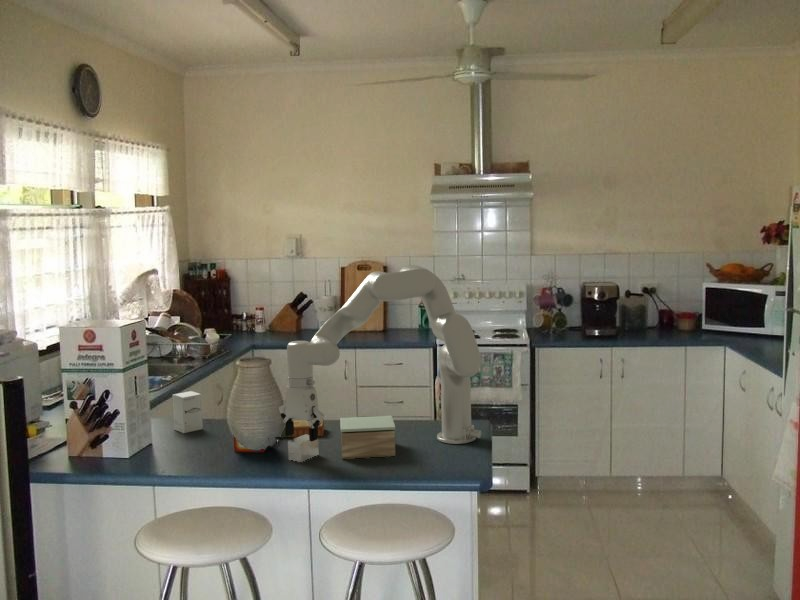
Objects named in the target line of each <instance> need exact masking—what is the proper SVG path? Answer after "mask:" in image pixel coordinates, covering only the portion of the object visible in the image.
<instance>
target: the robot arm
mask: <svg viewBox="0 0 800 600" xmlns="http://www.w3.org/2000/svg"><path fill="white" fill-rule="evenodd" d="M413 298H414V299H415V298H420V300H421V301H422V304H423V306H424V309H425V312H426V314H427V318H428V320H429V324H430V327H431V332H432V334H433V335H434V336H435V338H437V339H439V340H440V341H443V342H444V344H443V345H442V347H441V348H440V350H439V351H438V359H437V360H438V362H437V363H438V367H439V373H440V375H439V376H440V398H441V399H440V402H441V404H440V405H441V409H440V410H441V413H440V414H441V431H440V432H439V433H437V434H436V439H437V440H438V441H439V442H442V443H445V444H451V445H462V444H468V443H471V442H474V441H475V440H476V439H481V438H482V437H481V436H482V431H481V430H479V429H475V425H474V424H472V398H471V396H472V395H471V394H472V393H471V392H472V387H471V386H472V384H471V377H474V376H475V375H476V374H477V373H478V372H479V370H480V368H481V365H482V360H481V359H482V358H481V357H482V356H481V353H480V350H479V347H478V343H477V340H476V337H475V334H474V331H473V327H472V326H471V324H470V322H469V320H468V319H467V318H466V317H465V316H463V315H462V314H460V313H457V311H456V310H455V308H454V305H453V302H452V300H451V297H450V293H449V292H448V289H447V287H446V286H445V284H444V282H443V281H442V279H441V278H440V277H438V276H437V275H436V274H435V273H434V272H432V271H431V270H429V269H428V268H425V267H422V266H418V265H414V264H412V265H411V264H409V265H405V266H403V267H402V268H401V269H400V270H399V271H396V272H394V271H393V272H385V271H379V270H377V271H376V270H375V271H372V272H370V273H369V274H368V275H367V276H366V277H365V278H364V279H363V281H362V282H361V283H360V285H358V287H357V289H356V290H355V291H354V292H353V293H352V295H351V296H350V297H349V298H348V299H347V301H346V302H345V303H343V305H342V307H341V308H339V309H338V310H337V311H336V312H335V313H334V314H333V315H331V317H329V318H328V319H327V320H326V321H325V322H324V323H323V325H322V326H320V328H319V329H318V331H317V332H315V334H314V336H313V337H312V338H311V340H310V341H307V340H293V341H289V342H288V344H287V346H286V361H287V362H286V365H287V366H286V367H287V371H286V372H287V386H286V388H285V389H286V390H285V394H284V395H285V398H284V404H282V405H280V406H279V407H278V409H279V410H278V411H279V413H280V417H281V419H282V421H283V422H284V423H285V435H286V436H289V435H292V434H294V421H292V420H301V421H307V422H308V424H309V425H310V427H311V428H309V440H310V441H311V442H312V441H314V440H317V439H318V440H319V437H318V427H319V426H320V424H321V423H322V420H323V419H324V417H325V414H324V413H323V412H322V411H320V410H319V400H318V399H319V398H318V393H317V388H316V386H314V385H315V384H316V381H315V380H314V372H313V371H314V370H313V369H314V367H313V366H321V367H322V366H323V367H326V366H332V365H334V364H335V363H336V362H338V360H339V359H340V349H339V346H337V344H339V342H340V341H341V340H342V339H343V338H344V337H345V336H346V335H347V334H348V333H350V332H351V331H354V330H355V329H359V328H360V327H362V326H363V325H365V324H366V323H367V322H368V320H369V319H370V318H371V316H372V315H373V314H374V313H375V312H376V310H377V309H378V307H380V305H381V303H382V302H395V301H402V300H407V299H413ZM312 420H313V422H314V423H313V422H312Z"/></svg>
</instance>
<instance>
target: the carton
mask: <svg viewBox="0 0 800 600" xmlns="http://www.w3.org/2000/svg"><path fill="white" fill-rule="evenodd" d="M292 421H294V434H292V435H289V436H286V435H285V428H284V430H283V432H282V434H281V438H280V439H284V438H283V437H292V438H297V437H300V436H302V435H305V434H307V435H309V428H311V427H310V425H309V424H308V422H307V421H301V420H296V419H293V420H292ZM312 422H313V420H312ZM313 423H314V422H313ZM324 432H325V419H324V418H323V420H322V423H321V424H320V426H319V427H318V436H321V437H323V436H324Z"/></svg>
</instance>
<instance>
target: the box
mask: <svg viewBox="0 0 800 600" xmlns="http://www.w3.org/2000/svg"><path fill="white" fill-rule="evenodd" d="M395 430H396V429H395ZM395 430H376V431H355V432H341V431H340V435H341V436H340V437H341V438H340V439H341V459H346V460H356V459H355V458H365V459H371V458H370V457H385V456H395V457H396V431H395ZM385 458H386V457H385Z"/></svg>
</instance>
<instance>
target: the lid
mask: <svg viewBox="0 0 800 600" xmlns="http://www.w3.org/2000/svg"><path fill="white" fill-rule="evenodd" d="M339 420H340V421H339V422H340V423H339V426H340V433H341V432H355V431H376V430H396V425H395V422H394V418H393V416H392V415H379V416H378V415H376V416H355V417H352V416H351V417H340V418H339Z"/></svg>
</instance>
